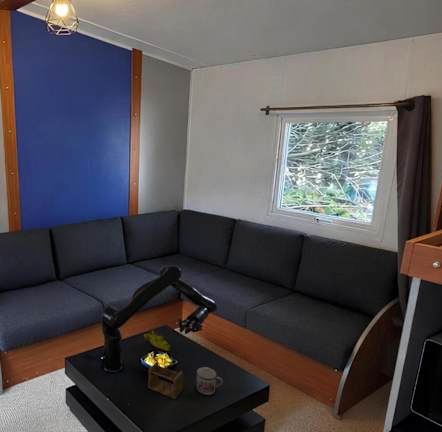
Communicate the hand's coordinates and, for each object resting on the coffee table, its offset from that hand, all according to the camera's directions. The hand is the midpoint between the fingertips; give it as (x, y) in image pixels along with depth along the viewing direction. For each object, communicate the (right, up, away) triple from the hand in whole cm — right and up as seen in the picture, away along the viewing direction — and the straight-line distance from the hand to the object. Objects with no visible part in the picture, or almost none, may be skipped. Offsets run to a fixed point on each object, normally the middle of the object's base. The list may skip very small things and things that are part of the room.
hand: (183, 331), depth 202 cm
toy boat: (-8, -17, +27) cm, 33 cm away
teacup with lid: (+9, -25, -11) cm, 29 cm away
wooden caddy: (-11, -25, -10) cm, 29 cm away
